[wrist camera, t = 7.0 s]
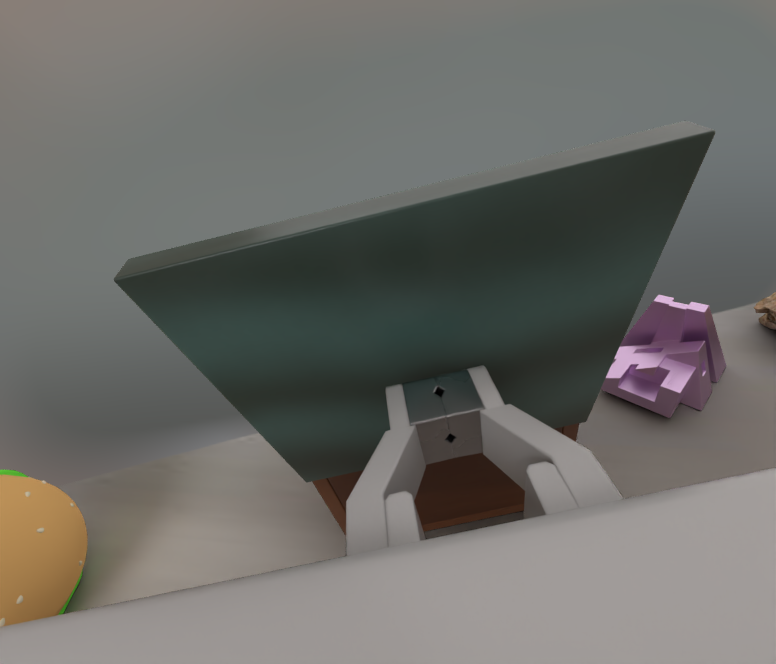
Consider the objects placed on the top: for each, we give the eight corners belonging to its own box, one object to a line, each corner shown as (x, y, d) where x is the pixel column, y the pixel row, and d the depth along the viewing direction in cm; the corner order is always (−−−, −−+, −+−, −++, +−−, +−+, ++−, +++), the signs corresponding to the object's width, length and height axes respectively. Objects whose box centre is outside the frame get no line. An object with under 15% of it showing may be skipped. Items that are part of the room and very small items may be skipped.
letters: (689, 431, 23) (720, 366, 19) (583, 386, 28) (594, 327, 24) (726, 365, 26) (758, 300, 23) (626, 335, 31) (640, 278, 28)
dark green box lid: (127, 258, 8) (111, 279, 8) (686, 119, 8) (718, 130, 7) (306, 465, 17) (306, 483, 16) (576, 405, 17) (586, 422, 16)
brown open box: (350, 409, 31) (323, 342, 27) (497, 376, 31) (494, 302, 26) (351, 547, 22) (310, 479, 17) (565, 502, 21) (580, 420, 17)
